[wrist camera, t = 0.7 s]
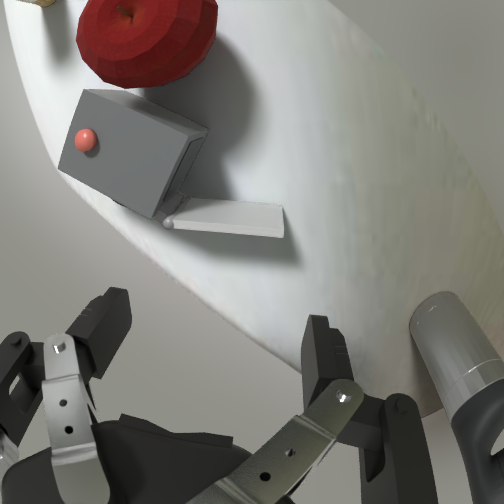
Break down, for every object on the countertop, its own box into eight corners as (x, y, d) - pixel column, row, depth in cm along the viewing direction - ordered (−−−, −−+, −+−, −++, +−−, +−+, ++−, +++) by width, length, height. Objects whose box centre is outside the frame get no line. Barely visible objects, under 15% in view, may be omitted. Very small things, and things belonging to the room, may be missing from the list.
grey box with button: (217, 133, 30) (196, 142, 22) (181, 204, 34) (152, 237, 25) (125, 90, 28) (78, 89, 20) (97, 161, 32) (50, 180, 23)
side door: (280, 214, 33) (282, 241, 26) (184, 206, 33) (163, 231, 27) (281, 203, 32) (284, 228, 26) (184, 196, 33) (162, 218, 26)
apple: (108, 73, 27) (31, 67, 15) (154, -13, 22) (98, -59, 10) (198, 109, 29) (151, 109, 17) (250, 17, 24) (236, -38, 12)
